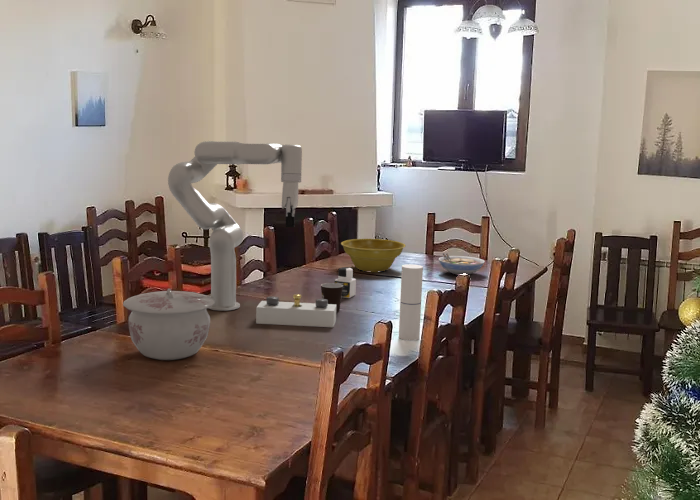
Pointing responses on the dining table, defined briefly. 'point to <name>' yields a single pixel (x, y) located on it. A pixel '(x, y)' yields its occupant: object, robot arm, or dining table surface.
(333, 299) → the coffee mug
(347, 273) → the medicine bottle
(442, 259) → the ramen bowl
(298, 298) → the brass dial
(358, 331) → the dining table surface
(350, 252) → the planter bowl
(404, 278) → the cylindrical container
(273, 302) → the knob
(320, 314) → the mount
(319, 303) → the knob
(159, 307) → the chamber pot
